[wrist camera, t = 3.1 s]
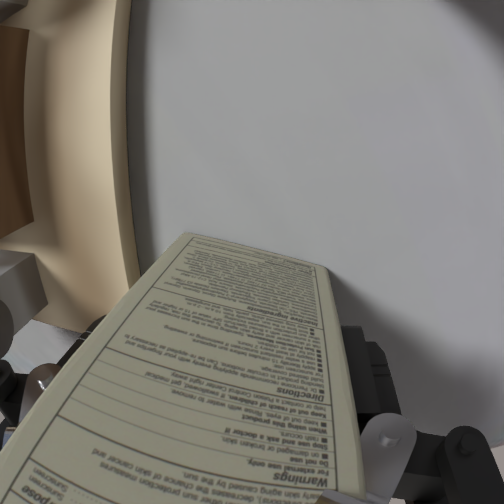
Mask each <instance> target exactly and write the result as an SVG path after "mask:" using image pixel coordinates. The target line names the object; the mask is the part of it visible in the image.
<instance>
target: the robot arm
mask: <svg viewBox="0 0 504 504" xmlns="http://www.w3.org/2000/svg"><path fill="white" fill-rule="evenodd" d="M106 316H107V315H104V316H102V317H100V318H99V319H97V320H95V321H94V322H93V323H92V324H91V325H90V326H89V327H88V328H87V329H86V332H84V333H83V334H82V335H81V336H80V339H78V340H77V341H76V342H75V343H74V344H73V345H72V346H71V348H70V349H69V350H68V351H67V352H66V353H65V355H64V356H63V357H62V358H61V359H60V360H59V362H58V363H57V364H52V363H47V364H43V365H40V366H38V367H36V368H35V369H33V370H32V371H31V372H30V374H19V373H14V371H13V369H12V367H11V365H10V364H9V362H7V361H6V360H1V359H0V411H1V413H2V414H3V415H4V417H5V419H4V420H3V421H2V422H1V424H0V451H1V450H2V449H3V447H4V446H5V444H6V443H7V441H8V440H9V438H10V437H11V436H12V434H13V433H14V431H15V430H16V429H17V427H18V426H19V424H20V423H21V422H22V420H23V419H24V417H25V416H26V415H27V414H28V412H29V411H30V410H31V408H32V407H33V405H34V404H35V402H36V401H37V400H38V398H39V397H40V396H41V394H42V393H43V392H44V391H45V389H46V388H47V387H48V386H49V384H50V383H51V382H52V380H53V379H54V378H55V376H56V375H57V374H58V373H59V371H60V370H61V369H62V368H63V366H64V365H65V364H66V363H67V361H68V360H69V359H70V358H71V356H72V355H73V354H74V353H75V352H76V350H77V349H78V348H79V347H80V346H81V345H82V344H83V342H84V341H85V340H86V339H87V338H88V337H89V335H90V334H91V333H92V332H93V331H94V329H95V328H96V327H97V326H98V325H99V324H100V322H101V321H102V320H103V319H104V318H105V317H106ZM340 327H341V331H342V337H343V342H344V347H345V352H346V357H347V362H348V367H349V373H350V379H351V385H352V390H353V396H354V402H355V408H356V414H357V422H358V427H359V433H360V442H361V451H362V460H363V468H364V475H365V485H366V496H367V500H364V499H360V498H357V497H354V496H351V495H348V494H345V493H341V492H338V491H334V490H329V489H325V490H324V491H323V493H322V494H321V495H320V497H319V498H318V500H317V501H316V502H315V504H389V502H390V499H391V498H398V499H404V500H405V502H406V504H504V482H503V479H502V477H501V474H500V472H499V469H498V467H497V464H496V462H495V459H494V457H493V454H492V452H491V450H490V447H489V445H488V443H487V441H486V439H485V437H484V435H483V434H482V433H481V432H480V431H479V430H477V429H475V428H473V427H470V426H459V427H456V428H454V429H453V430H451V431H450V432H449V434H448V435H447V436H446V437H445V436H438V435H432V434H426V433H422V432H419V431H417V430H416V429H415V427H414V425H413V424H412V423H411V422H410V421H409V420H408V419H407V418H405V417H404V416H402V414H401V411H400V407H399V403H398V399H397V395H396V392H395V388H394V384H393V381H392V377H391V376H390V375H391V373H390V370H389V367H388V363H387V360H386V356H385V353H384V351H383V350H382V349H381V348H380V347H379V346H378V345H377V343H376V342H365V339H364V335H363V331H362V328H361V326H340Z"/></svg>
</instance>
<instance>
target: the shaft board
mask: <svg viewBox="0 0 504 504" xmlns="http://www.w3.org/2000/svg"><path fill="white" fill-rule="evenodd" d="M131 1H132V0H0V359H1V358H2V357H4V356H5V354H6V353H7V352H8V350H9V348H10V346H11V344H12V341H13V336H14V335H15V334H16V333H17V332H18V331H19V330H20V329H21V328H23V327H24V326H25V325H26V324H27V323H28V322H29V321H30V320H31V319H33V320H37V321H40V322H43V323H46V324H50V325H53V326H57V327H60V328H64V329H68V330H71V331H75V332H79V333H84V332H86V329H87V328H88V327H89V326H90V325H91V324H92V323H93V322H94V321H95V320H97V319H99V318H100V317H102V316H104V315H107V314H108V313H109V312H110V311H111V310H112V309H113V307H114V306H115V305H116V304H117V303H118V302H119V301H120V300H121V298H122V297H123V296H124V295H125V294H126V293H127V292H128V291H129V290H130V289H131V287H132V286H133V285H134V284H135V283H136V282H137V281H138V280H139V279H140V278H141V276H140V270H139V263H138V256H137V249H136V242H135V234H134V226H133V217H132V207H131V197H130V185H129V172H128V156H127V132H126V70H127V47H128V32H129V20H130V10H131Z"/></svg>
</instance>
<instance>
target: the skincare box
mask: <svg viewBox="0 0 504 504" xmlns="http://www.w3.org/2000/svg"><path fill="white" fill-rule="evenodd" d="M325 489H329V490H334V491H338V492H341V493H345V494H348V495H351V496H354V497H357V498H360V499H364V500H367V496H366V485H365V475H364V468H363V460H362V451H361V442H360V433H359V427H358V422H357V414H356V408H355V402H354V396H353V390H352V385H351V379H350V373H349V367H348V362H347V357H346V352H345V347H344V342H343V337H342V331H341V327H340V322H339V317H338V313H337V309H336V305H335V300H334V296H333V291H332V287H331V283H330V279H329V274H328V271H327V269H326V268H325V267H323V266H319V265H315V264H312V263H308V262H304V261H301V260H298V259H294V258H290V257H286V256H283V255H279V254H275V253H271V252H267V251H263V250H259V249H255V248H251V247H247V246H243V245H239V244H235V243H231V242H227V241H223V240H219V239H215V238H210V237H205V236H201V235H196V234H192V233H183V234H181V235H180V236H179V237H178V239H177V240H176V241H175V242H174V243H173V244H172V245H171V246H170V247H169V248H168V249H167V250H166V251H165V252H164V253H163V254H162V255H161V256H160V257H159V258H158V259H157V260H156V262H155V263H154V264H153V265H152V266H151V267H150V268H149V269H148V270H147V271H146V272H145V274H144V275H143V276H142V277H141V278H140V279H139V280H138V281H137V282H136V283H135V284H134V285H133V286H132V287H131V289H130V290H129V291H128V292H127V293H126V294H125V295H124V296H123V297H122V298H121V300H120V301H119V302H118V303H117V304H116V305H115V306H114V307H113V309H112V310H111V311H110V312H109V313H108V314H107V316H106V317H105V318H104V319H103V320H102V321H101V322H100V324H99V325H98V326H97V327H96V328H95V329H94V331H93V332H92V333H91V334H90V335H89V337H88V338H87V339H86V340H85V341H84V342H83V344H82V345H81V346H80V347H79V348H78V349H77V350H76V352H75V353H74V354H73V355H72V356H71V358H70V359H69V360H68V361H67V363H66V364H65V365H64V366H63V368H62V369H61V370H60V371H59V373H58V374H57V375H56V376H55V378H54V379H53V380H52V382H51V383H50V384H49V386H48V387H47V388H46V389H45V391H44V392H43V393H42V394H41V396H40V397H39V398H38V400H37V401H36V402H35V404H34V405H33V407H32V408H31V410H30V411H29V412H28V414H27V415H26V416H25V417H24V419H23V420H22V422H21V423H20V424H19V426H18V427H17V429H16V430H15V431H14V433H13V434H12V436H11V437H10V438H9V440H8V441H7V443H6V444H5V446H4V447H3V449H2V450H1V451H0V504H315V502H316V501H317V500H318V498H319V497H320V495H321V494H322V493H323V491H324V490H325Z"/></svg>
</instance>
